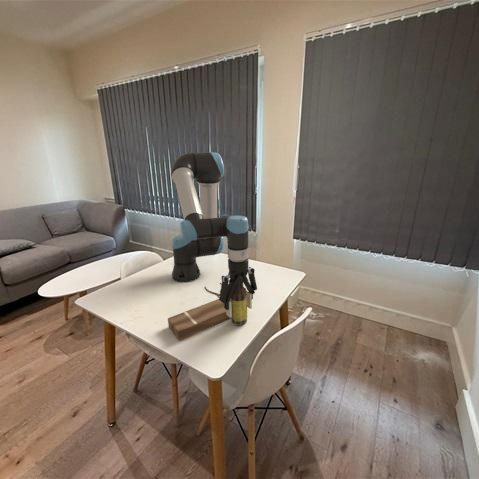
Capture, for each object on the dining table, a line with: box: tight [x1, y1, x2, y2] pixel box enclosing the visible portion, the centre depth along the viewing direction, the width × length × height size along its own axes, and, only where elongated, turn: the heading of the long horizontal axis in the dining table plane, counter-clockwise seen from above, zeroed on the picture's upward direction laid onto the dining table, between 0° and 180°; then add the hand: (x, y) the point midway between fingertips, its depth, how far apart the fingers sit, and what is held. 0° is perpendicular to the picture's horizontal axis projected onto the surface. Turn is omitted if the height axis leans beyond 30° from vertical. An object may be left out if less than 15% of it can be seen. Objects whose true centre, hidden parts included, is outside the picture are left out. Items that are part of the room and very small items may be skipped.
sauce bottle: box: [231, 276, 248, 326], centre depth 101 cm, size 6×6×20 cm
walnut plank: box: [167, 298, 232, 342], centre depth 105 cm, size 10×28×4 cm, turn 126°
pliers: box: [204, 282, 222, 298], centre depth 126 cm, size 10×1×20 cm
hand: (239, 311), depth 103 cm, fingers open, 9 cm apart
